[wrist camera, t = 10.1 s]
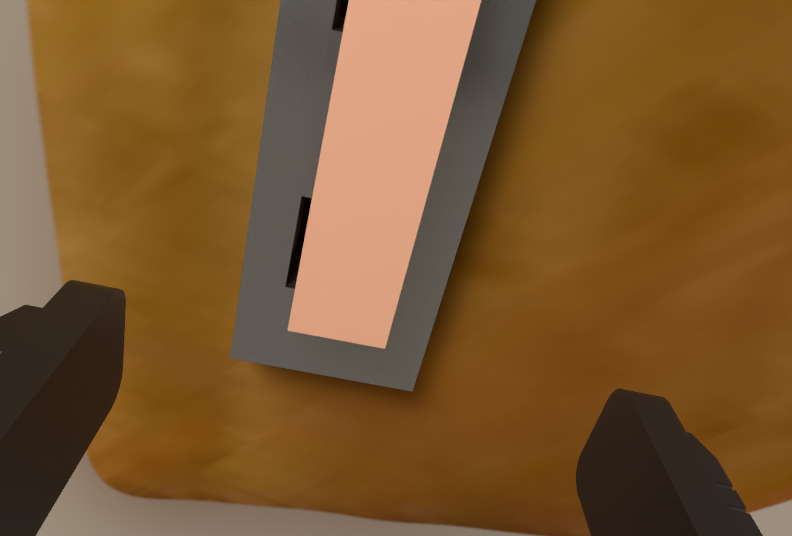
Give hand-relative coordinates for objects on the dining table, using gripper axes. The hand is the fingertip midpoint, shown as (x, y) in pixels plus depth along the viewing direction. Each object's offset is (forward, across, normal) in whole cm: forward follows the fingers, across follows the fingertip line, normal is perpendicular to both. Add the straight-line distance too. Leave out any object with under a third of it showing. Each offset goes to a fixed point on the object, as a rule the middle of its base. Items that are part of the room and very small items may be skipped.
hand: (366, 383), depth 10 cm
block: (+17, 0, 0) cm, 17 cm away
